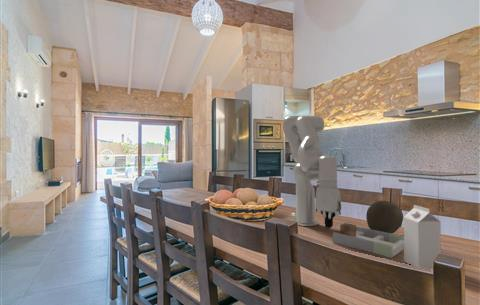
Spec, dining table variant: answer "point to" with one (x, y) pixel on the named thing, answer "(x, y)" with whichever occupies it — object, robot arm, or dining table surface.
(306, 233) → the dining table surface
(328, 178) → the robot arm
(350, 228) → the walnut block
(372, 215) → the brown coconut
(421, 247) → the milk carton
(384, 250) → the lane box
